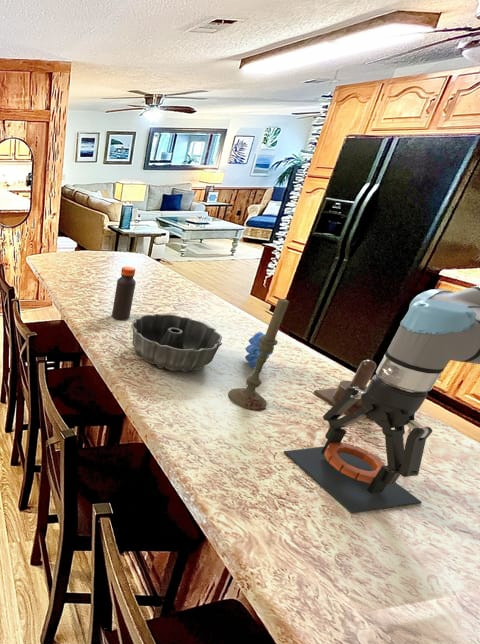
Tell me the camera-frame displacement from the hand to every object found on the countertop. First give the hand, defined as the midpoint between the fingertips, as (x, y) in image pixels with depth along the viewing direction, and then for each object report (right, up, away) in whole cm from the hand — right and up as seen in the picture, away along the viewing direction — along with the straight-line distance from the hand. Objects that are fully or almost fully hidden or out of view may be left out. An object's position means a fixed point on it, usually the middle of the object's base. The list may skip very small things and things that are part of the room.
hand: (349, 471), depth 81 cm
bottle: (-26, +34, +72) cm, 84 cm away
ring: (0, +2, -1) cm, 2 cm away
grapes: (+6, +18, +40) cm, 44 cm away
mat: (0, -1, +1) cm, 1 cm away
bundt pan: (-19, +20, +44) cm, 52 cm away
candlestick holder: (-6, +10, +24) cm, 27 cm away
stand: (+21, +10, +24) cm, 33 cm away
